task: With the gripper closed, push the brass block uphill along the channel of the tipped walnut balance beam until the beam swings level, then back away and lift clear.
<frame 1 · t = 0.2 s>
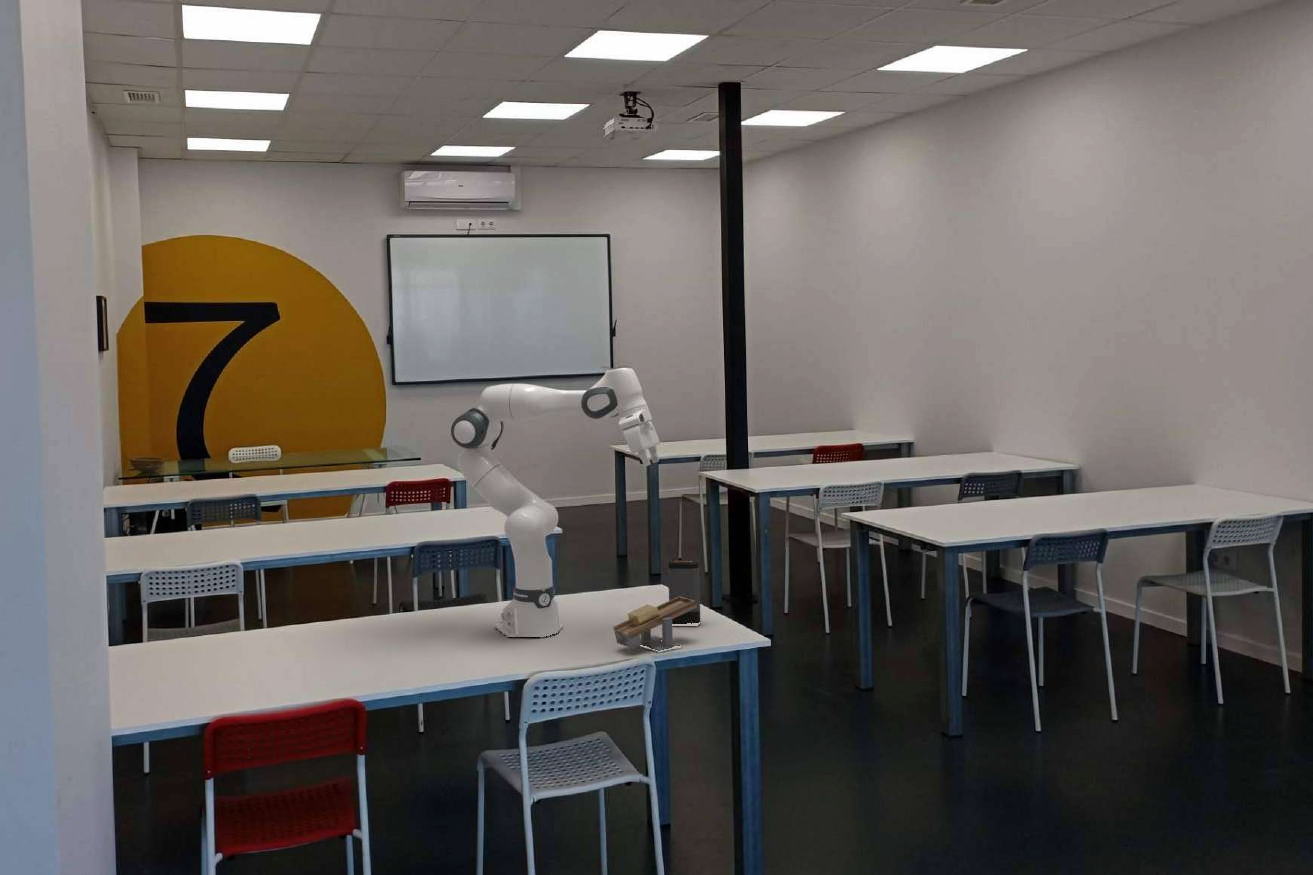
hand: (651, 463, 327), 51 cm above the table, tool tilted 20°, fingers open, 8 cm apart
stand: (656, 645, 322), on the table
electronic device: (685, 625, 346), on the table
beam: (656, 621, 322), point 7 cm above the table, hinge at 12.5°, touching rider
rider: (644, 621, 320), point 8 cm above the table, tilted 12°, touching beam
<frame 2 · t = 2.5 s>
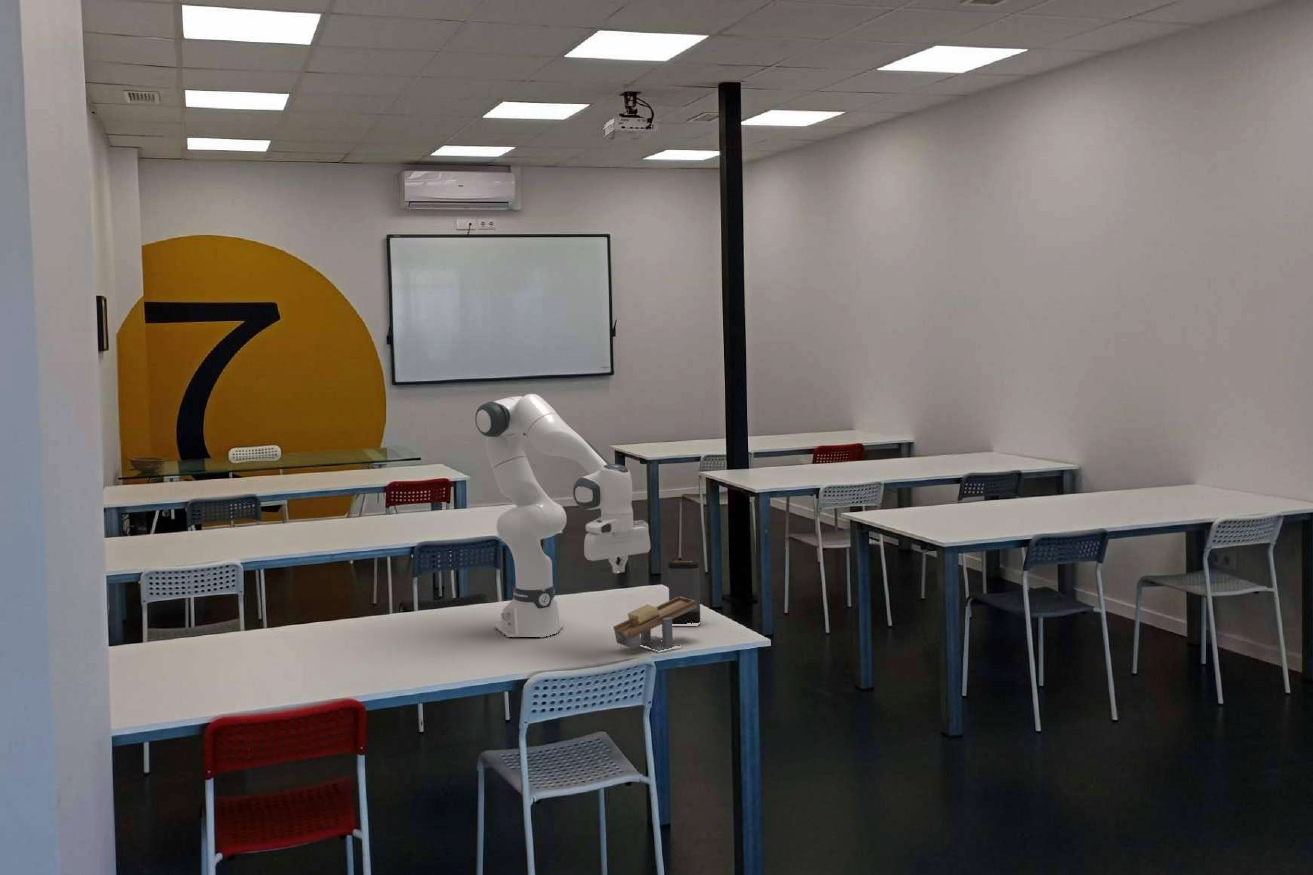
hand: (618, 572, 313), 23 cm above the table, tool pointing down, fingers closed
nothing on the table moved.
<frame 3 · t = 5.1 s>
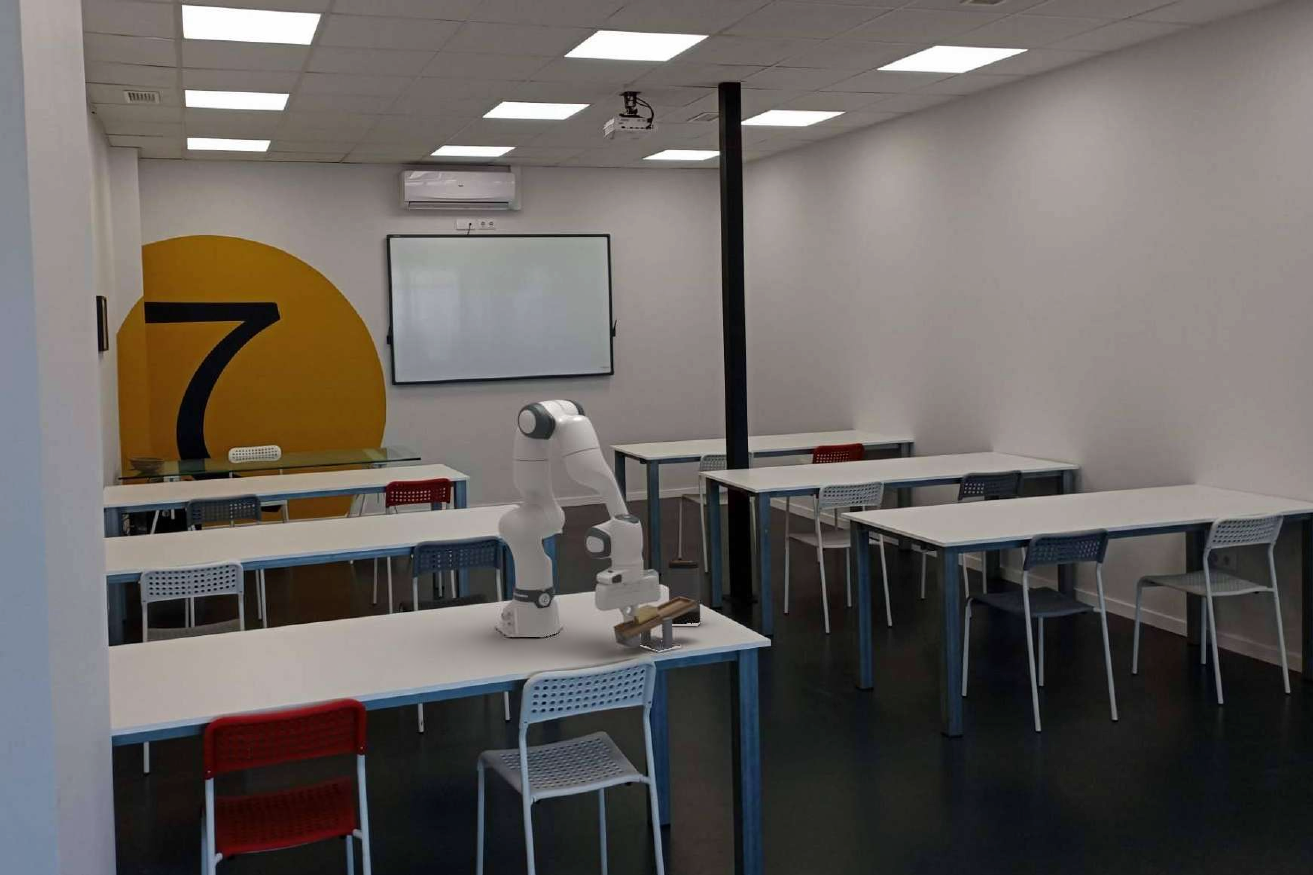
hand: (629, 621, 316), 9 cm above the table, tool pointing down, fingers closed
beam: (656, 621, 322), point 7 cm above the table, hinge at 12.5°
rider: (644, 621, 320), point 8 cm above the table, tilted 12°, touching gripper
everything else where it was.
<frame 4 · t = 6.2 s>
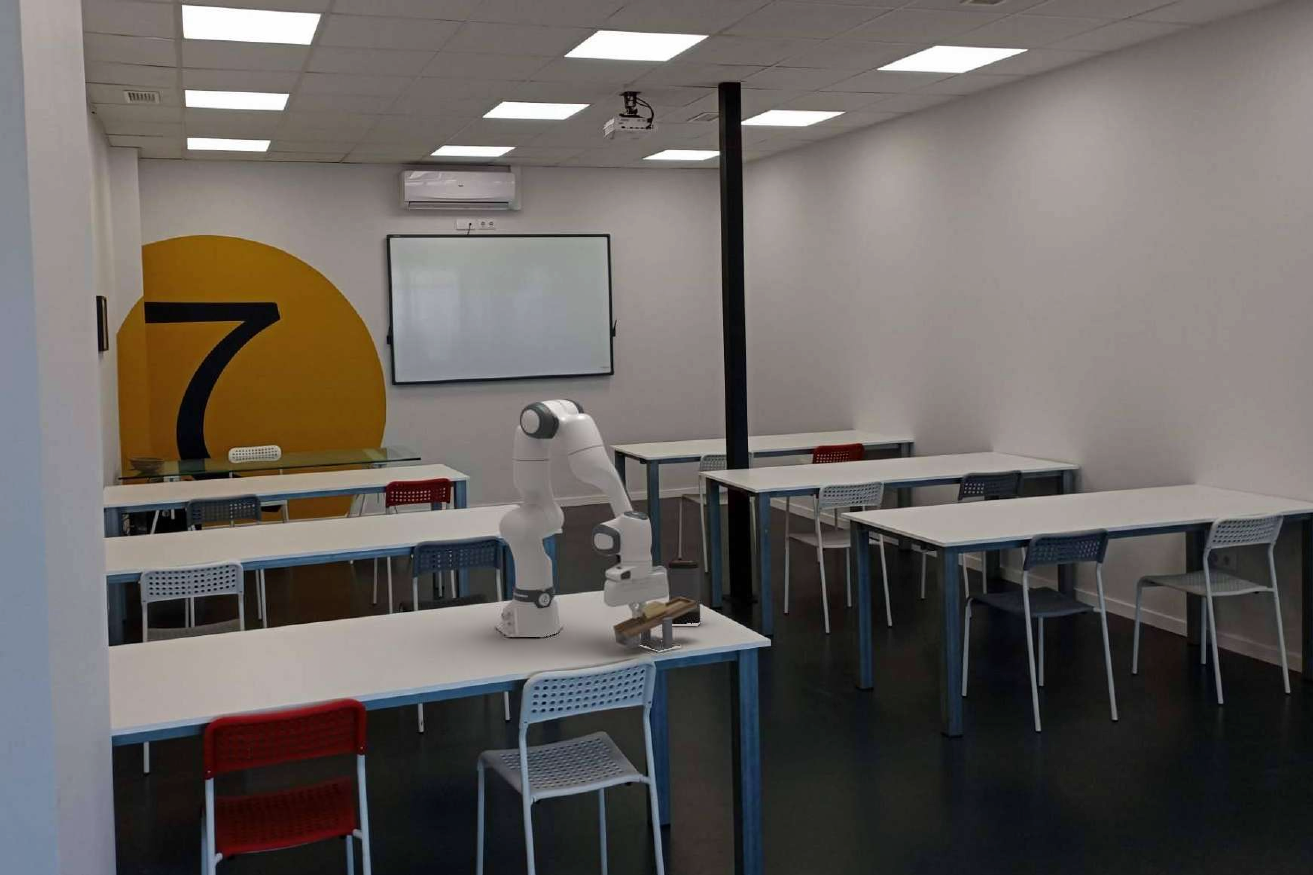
hand: (637, 617, 318), 9 cm above the table, tool pointing down, fingers closed
beam: (656, 621, 322), point 7 cm above the table, hinge at 11.9°, touching rider
rider: (652, 618, 321), point 8 cm above the table, tilted 12°, touching beam, gripper
everything else where it was.
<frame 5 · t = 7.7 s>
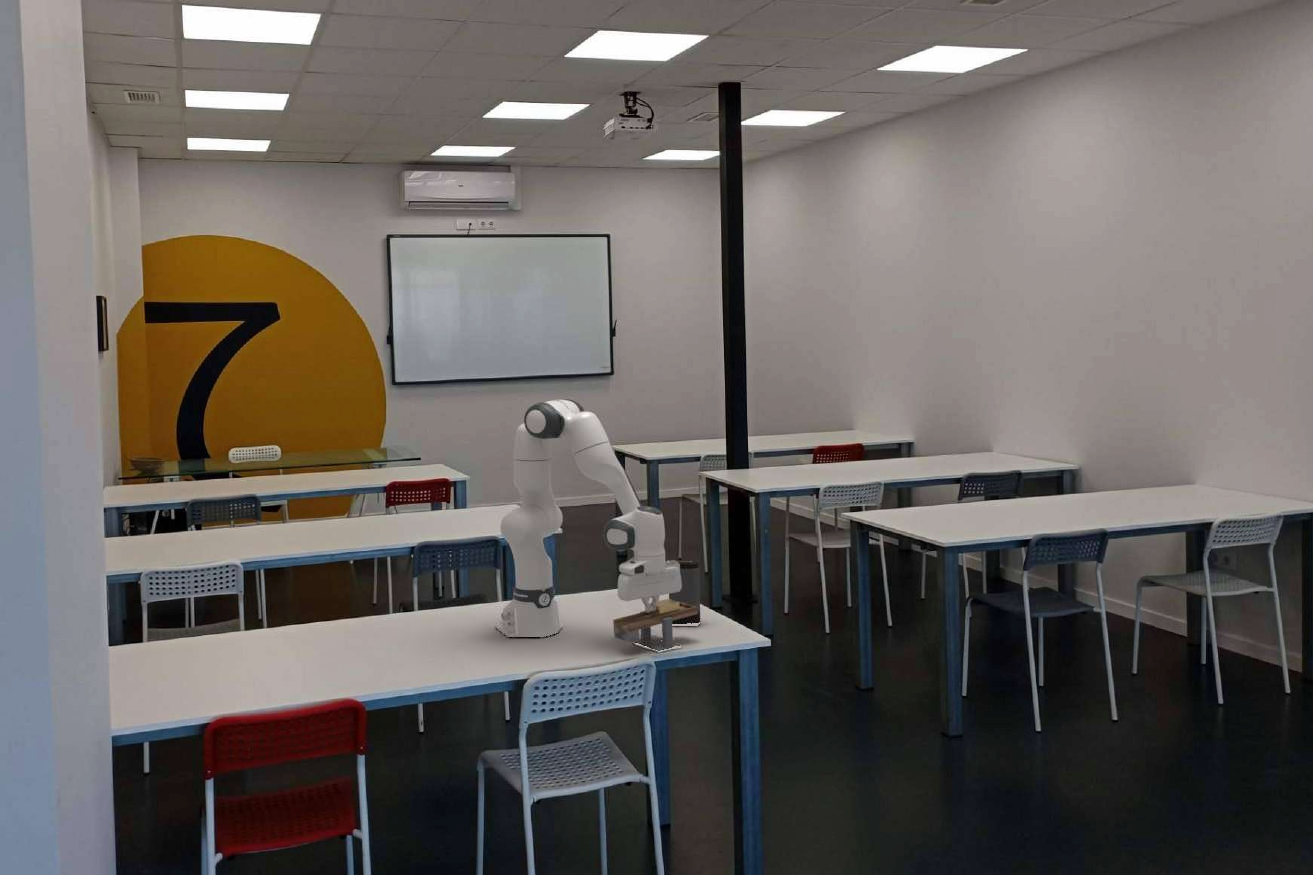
hand: (650, 611, 321), 10 cm above the table, tool pointing down, fingers closed
beam: (656, 621, 322), point 7 cm above the table, hinge at 3.1°
rider: (664, 614, 324), point 9 cm above the table, touching gripper
everything else where it was.
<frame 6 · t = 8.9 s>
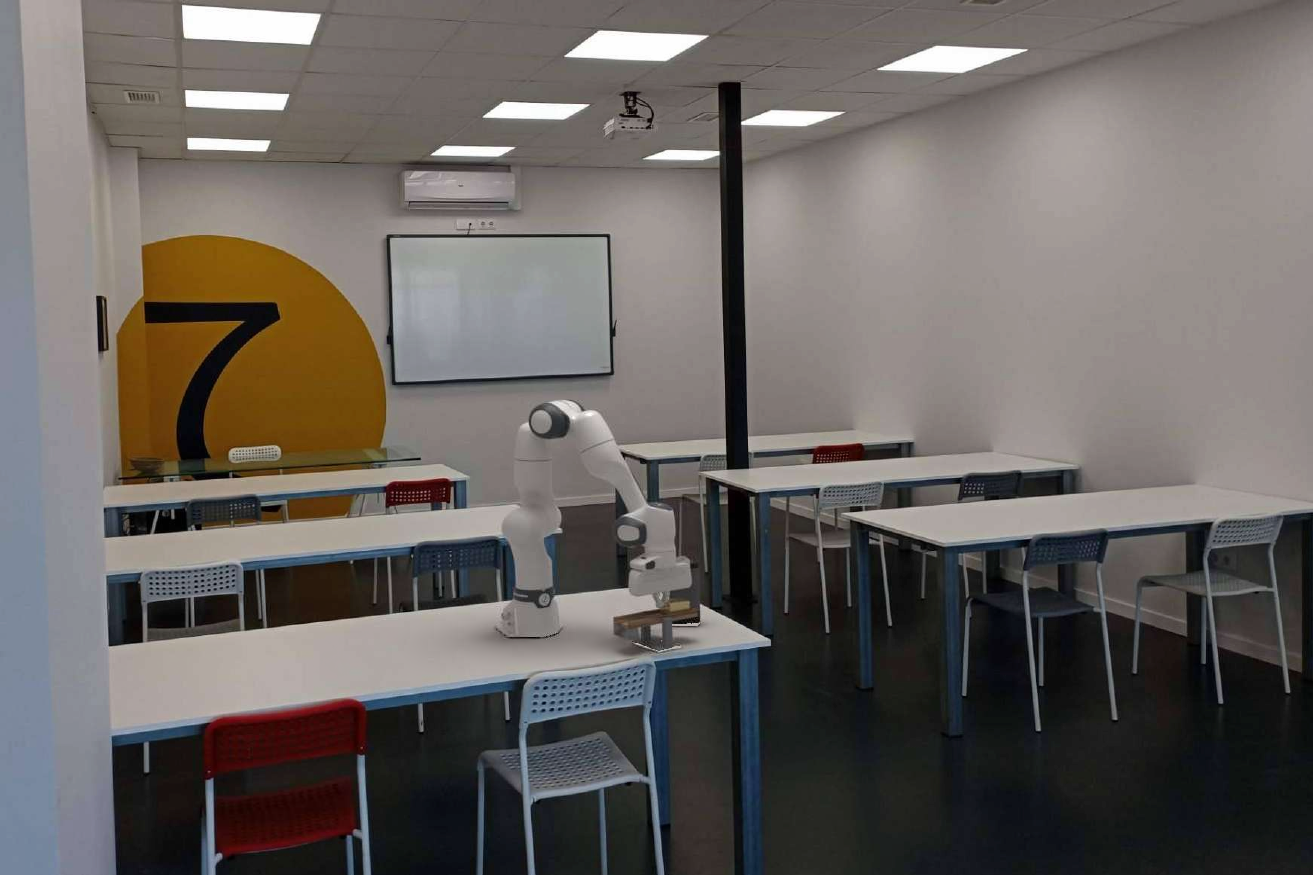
hand: (661, 607, 323), 11 cm above the table, tool pointing down, fingers closed
beam: (656, 621, 322), point 7 cm above the table, hinge at -0.4°, touching rider
rider: (674, 612, 326), point 9 cm above the table, touching beam, gripper
everything else where it was.
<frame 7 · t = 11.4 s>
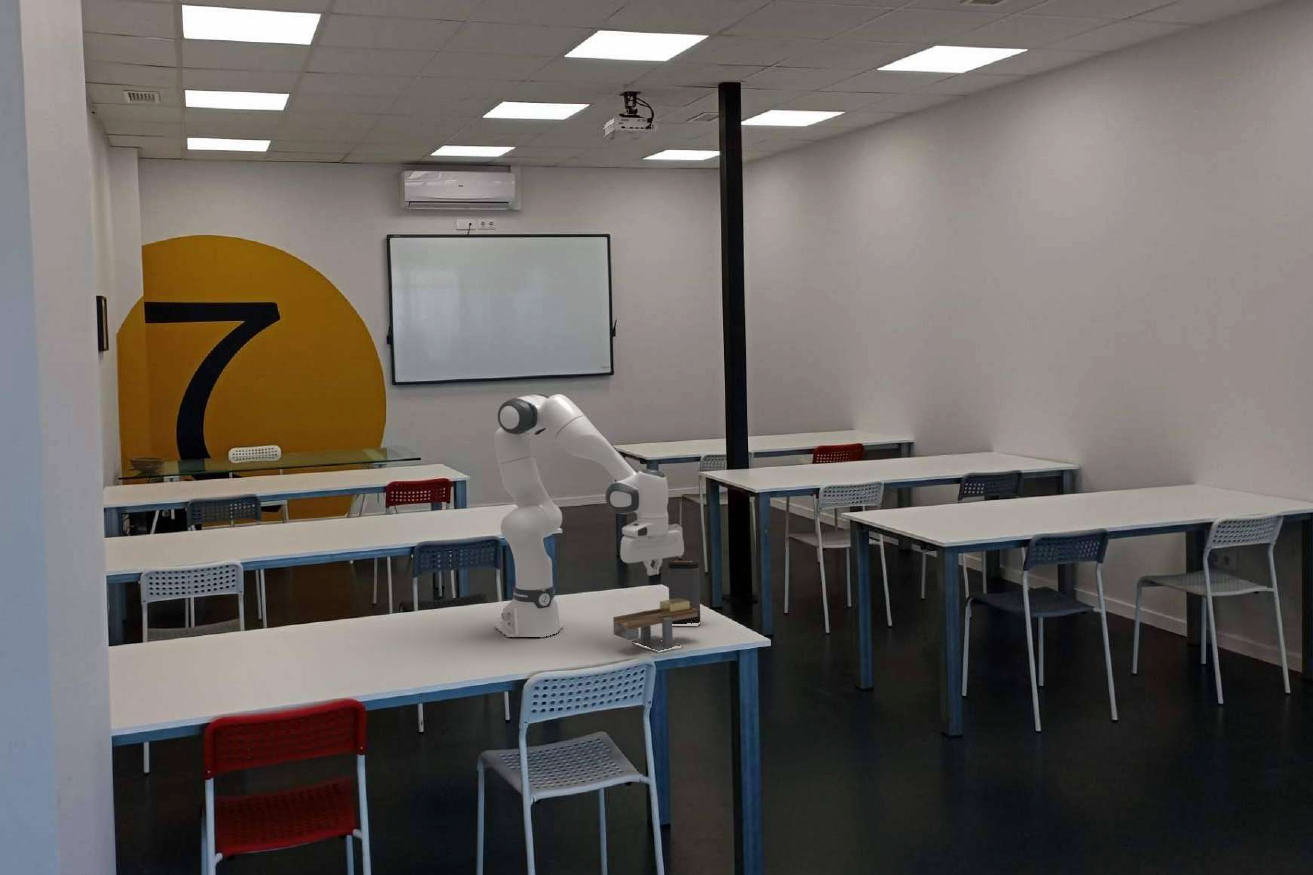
hand: (652, 574, 321), 21 cm above the table, tool pointing down, fingers closed
rider: (674, 613, 326), point 8 cm above the table, touching beam
everything else where it was.
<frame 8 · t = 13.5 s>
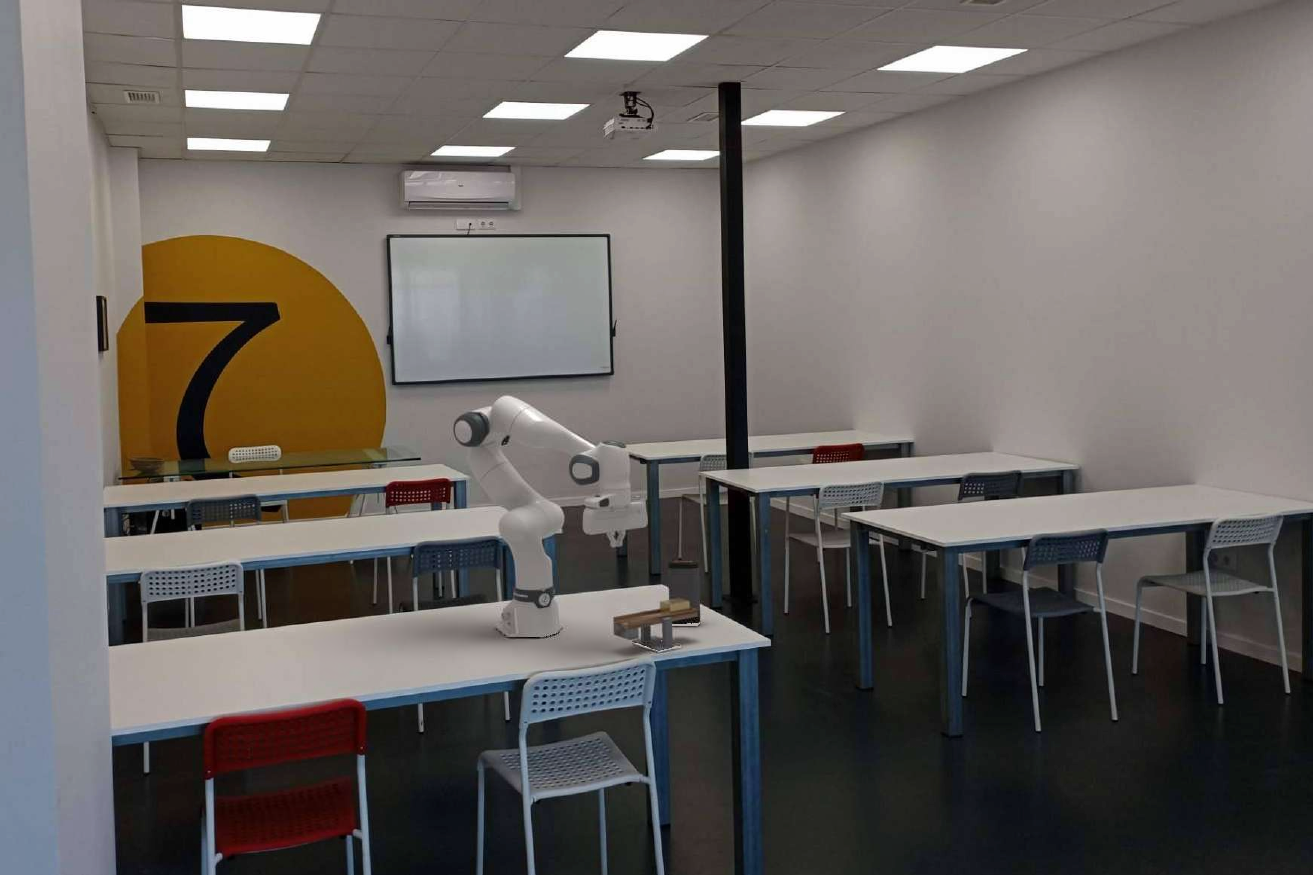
hand: (616, 546, 320), 29 cm above the table, tool pointing down, fingers closed
nothing on the table moved.
at the end: beam at +0° (first picture: +12°); rider touching beam; rider 0.5 cm from the target spot on the beam, point 0.5 cm above the beam's base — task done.
